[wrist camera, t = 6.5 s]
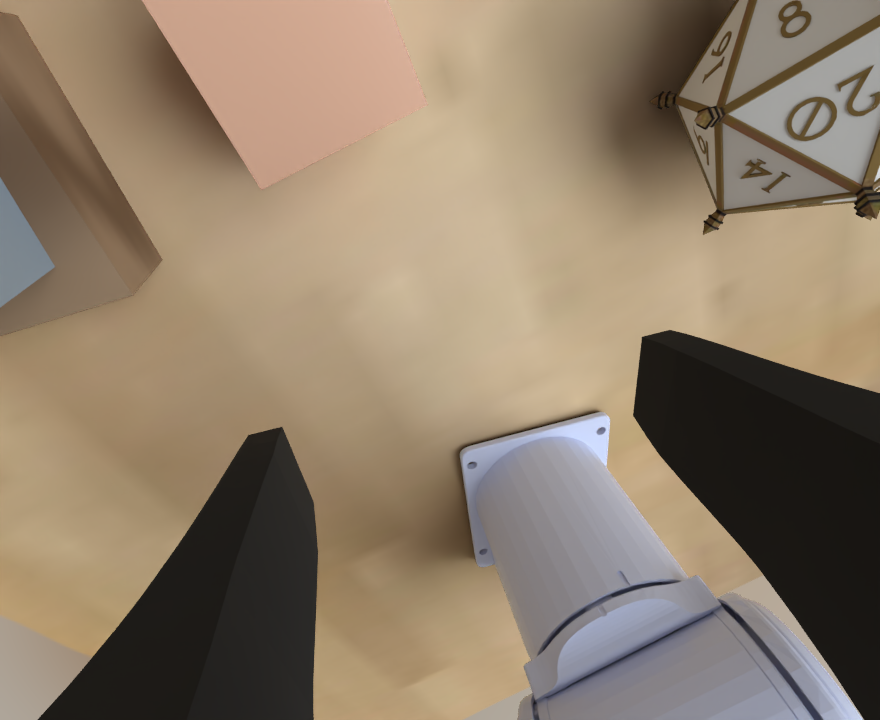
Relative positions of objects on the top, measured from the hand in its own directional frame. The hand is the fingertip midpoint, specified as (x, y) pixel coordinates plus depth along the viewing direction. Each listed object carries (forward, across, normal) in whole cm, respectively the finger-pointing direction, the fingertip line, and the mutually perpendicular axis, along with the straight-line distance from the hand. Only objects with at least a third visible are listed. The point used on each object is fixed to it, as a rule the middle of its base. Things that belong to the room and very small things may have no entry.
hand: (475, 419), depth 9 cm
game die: (+11, -13, -4) cm, 17 cm away
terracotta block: (+10, +2, -7) cm, 13 cm away
